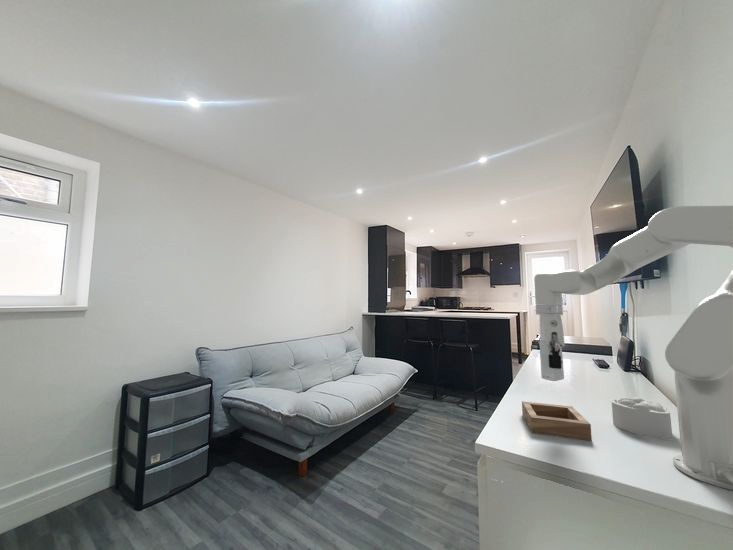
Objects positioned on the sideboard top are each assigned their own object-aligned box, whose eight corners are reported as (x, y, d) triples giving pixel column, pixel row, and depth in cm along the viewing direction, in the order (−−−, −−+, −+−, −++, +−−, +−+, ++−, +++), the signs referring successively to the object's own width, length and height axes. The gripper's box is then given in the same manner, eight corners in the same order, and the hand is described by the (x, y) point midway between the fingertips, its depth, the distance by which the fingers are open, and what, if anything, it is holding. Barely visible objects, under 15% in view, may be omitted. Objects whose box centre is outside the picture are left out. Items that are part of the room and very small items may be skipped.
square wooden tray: (591, 440, 81) (590, 424, 82) (531, 432, 86) (531, 417, 87) (573, 420, 95) (572, 406, 96) (522, 414, 100) (521, 401, 101)
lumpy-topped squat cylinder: (674, 442, 81) (671, 410, 82) (614, 429, 89) (611, 400, 90) (667, 429, 89) (664, 400, 90) (612, 419, 97) (610, 392, 98)
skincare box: (555, 382, 89) (553, 342, 90) (540, 378, 93) (538, 340, 94) (565, 379, 92) (562, 340, 93) (550, 376, 96) (548, 339, 97)
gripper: (571, 311, 85) (574, 372, 83) (555, 310, 101) (558, 361, 100) (541, 310, 88) (545, 370, 86) (531, 309, 104) (533, 359, 102)
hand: (551, 365), depth 93 cm, fingers closed on skincare box, 7 cm apart
